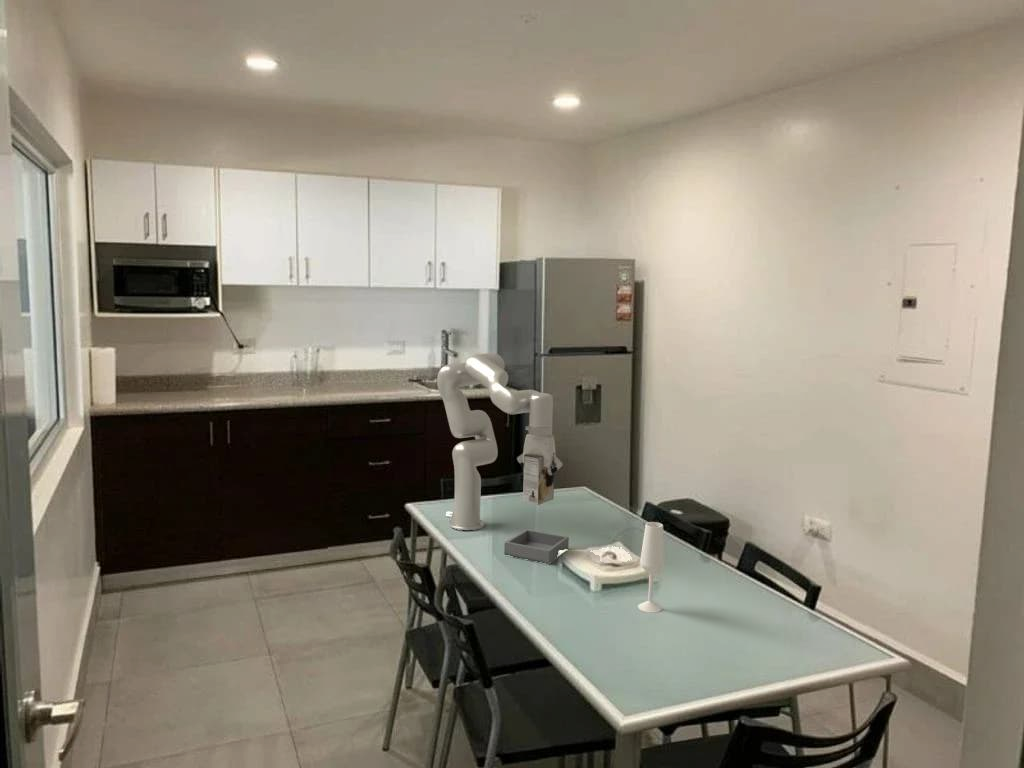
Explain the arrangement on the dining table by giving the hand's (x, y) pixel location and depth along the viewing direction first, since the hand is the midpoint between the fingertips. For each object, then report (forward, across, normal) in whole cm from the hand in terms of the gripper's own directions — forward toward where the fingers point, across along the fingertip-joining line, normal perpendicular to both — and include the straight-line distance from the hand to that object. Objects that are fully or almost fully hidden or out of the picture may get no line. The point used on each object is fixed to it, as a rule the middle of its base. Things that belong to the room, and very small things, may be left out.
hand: (538, 483), depth 254 cm
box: (+24, 0, 0) cm, 24 cm away
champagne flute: (+24, +46, -23) cm, 57 cm away
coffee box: (+6, 0, 0) cm, 6 cm away
